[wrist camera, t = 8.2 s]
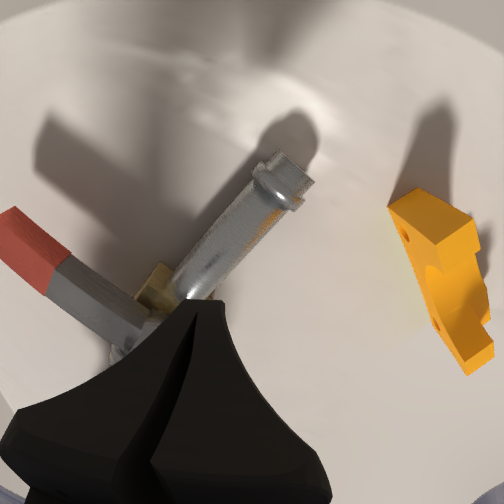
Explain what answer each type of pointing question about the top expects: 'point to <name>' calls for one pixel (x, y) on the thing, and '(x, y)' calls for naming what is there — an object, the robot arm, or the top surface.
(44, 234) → the lever
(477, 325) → the pipe clamp
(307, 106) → the top surface
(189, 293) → the cylinder
